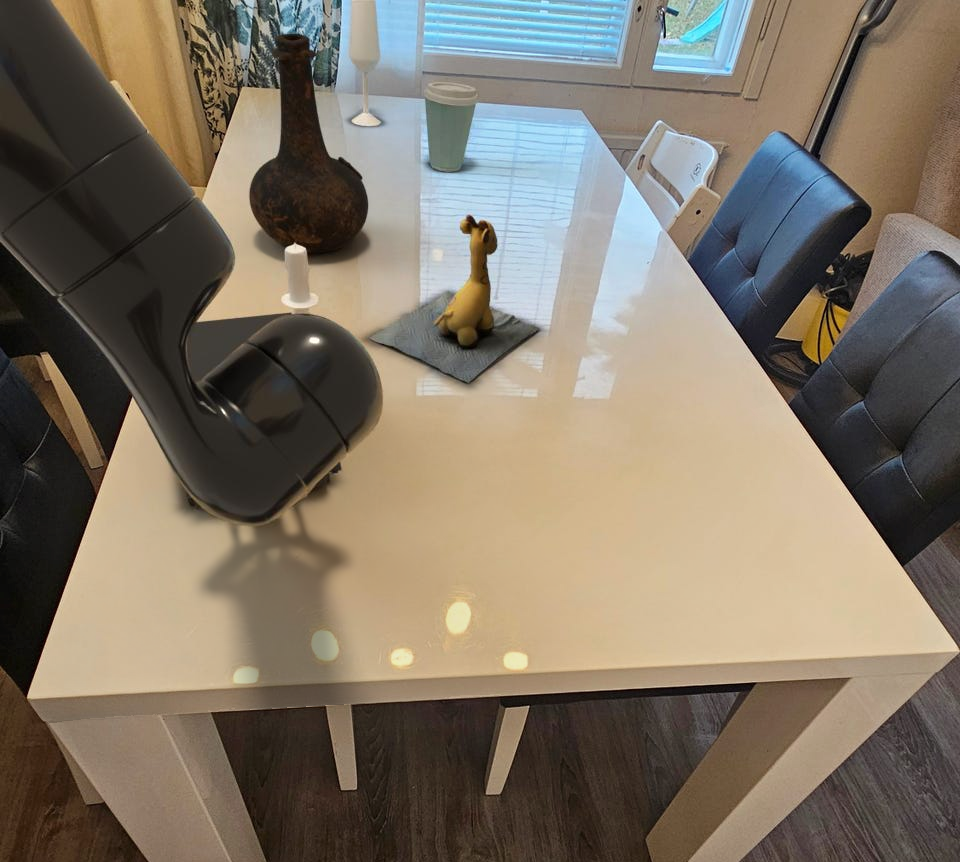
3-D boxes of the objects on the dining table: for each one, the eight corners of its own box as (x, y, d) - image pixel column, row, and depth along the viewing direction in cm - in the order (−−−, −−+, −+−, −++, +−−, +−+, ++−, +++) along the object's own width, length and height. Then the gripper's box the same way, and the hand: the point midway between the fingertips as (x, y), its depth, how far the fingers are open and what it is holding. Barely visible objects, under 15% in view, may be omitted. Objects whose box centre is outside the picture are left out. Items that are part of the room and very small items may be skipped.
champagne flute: (349, 124, 160) (344, -6, 143) (354, 116, 164) (349, -11, 148) (378, 127, 160) (377, -3, 143) (382, 119, 165) (381, -8, 148)
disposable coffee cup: (418, 157, 147) (420, 75, 137) (469, 159, 149) (474, 78, 139) (424, 175, 140) (427, 89, 130) (477, 177, 142) (484, 93, 132)
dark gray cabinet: (330, 480, 73) (323, 393, 66) (189, 505, 69) (164, 415, 61) (300, 395, 83) (291, 312, 76) (176, 412, 79) (154, 326, 72)
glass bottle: (385, 257, 112) (384, 50, 93) (274, 272, 105) (247, 53, 86) (345, 214, 123) (336, 21, 103) (242, 226, 116) (212, 21, 96)
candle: (283, 322, 95) (272, 234, 87) (323, 322, 96) (317, 235, 88) (282, 343, 91) (271, 253, 83) (324, 343, 92) (317, 253, 84)
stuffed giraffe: (540, 329, 99) (553, 214, 88) (468, 387, 88) (471, 264, 77) (448, 295, 105) (449, 184, 94) (370, 345, 94) (360, 227, 83)
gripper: (349, 390, 51) (324, 427, 68) (154, 418, 47) (177, 450, 63) (370, 492, 51) (340, 503, 68) (177, 528, 47) (195, 531, 64)
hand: (261, 478), depth 66 cm, fingers closed
